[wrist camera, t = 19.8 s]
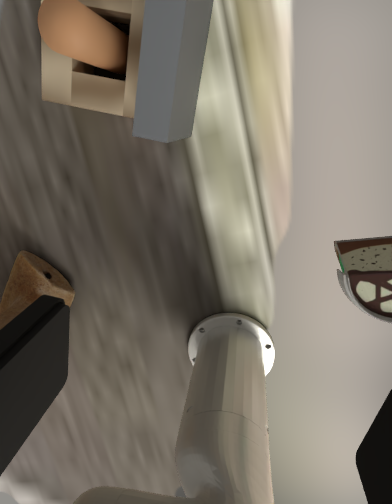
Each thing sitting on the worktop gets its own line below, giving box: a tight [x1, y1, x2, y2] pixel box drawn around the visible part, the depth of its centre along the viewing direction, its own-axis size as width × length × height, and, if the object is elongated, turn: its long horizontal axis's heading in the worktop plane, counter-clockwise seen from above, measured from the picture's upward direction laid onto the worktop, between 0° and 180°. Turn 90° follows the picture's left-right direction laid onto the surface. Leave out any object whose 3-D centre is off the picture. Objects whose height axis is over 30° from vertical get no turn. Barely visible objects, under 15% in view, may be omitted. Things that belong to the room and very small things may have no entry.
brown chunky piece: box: [0, 250, 75, 330], centre depth 43 cm, size 15×12×15 cm
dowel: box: [38, 0, 129, 74], centre depth 30 cm, size 4×4×12 cm
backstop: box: [132, 0, 213, 143], centre depth 30 cm, size 14×3×12 cm, turn 170°
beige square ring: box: [41, 0, 145, 118], centre depth 33 cm, size 12×12×5 cm
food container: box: [334, 236, 392, 323], centre depth 35 cm, size 12×6×10 cm, turn 99°
